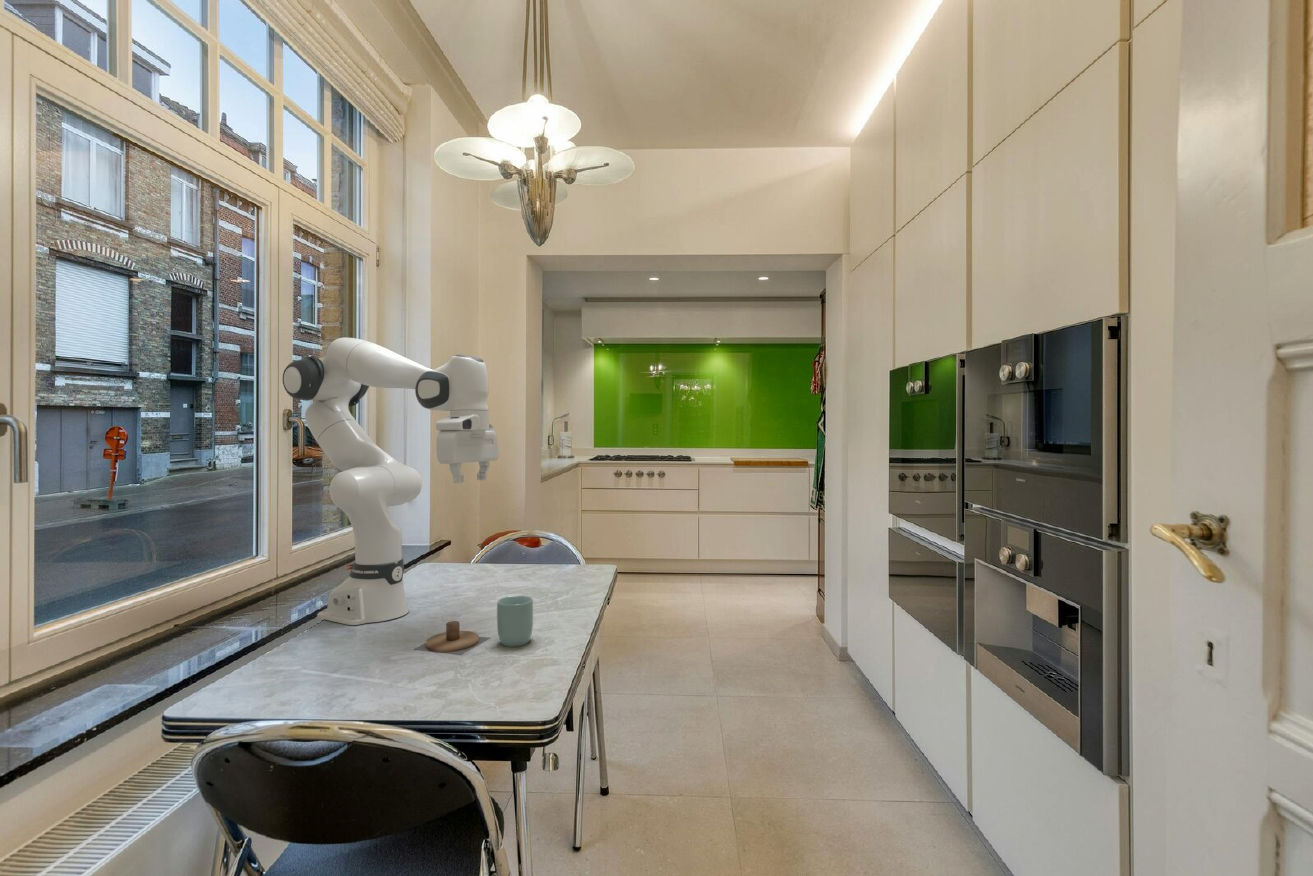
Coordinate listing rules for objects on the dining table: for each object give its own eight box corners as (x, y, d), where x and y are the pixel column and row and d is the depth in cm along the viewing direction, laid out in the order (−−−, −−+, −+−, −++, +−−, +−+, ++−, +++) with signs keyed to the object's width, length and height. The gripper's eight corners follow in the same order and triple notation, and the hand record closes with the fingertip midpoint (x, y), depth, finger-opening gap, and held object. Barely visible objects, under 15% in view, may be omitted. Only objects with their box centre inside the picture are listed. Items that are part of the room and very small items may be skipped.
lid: (415, 649, 127) (415, 628, 127) (447, 633, 138) (447, 614, 138) (459, 654, 124) (459, 633, 124) (488, 637, 135) (488, 617, 135)
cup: (537, 639, 135) (537, 595, 135) (526, 651, 127) (526, 605, 127) (504, 638, 136) (504, 595, 136) (491, 650, 128) (491, 604, 128)
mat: (413, 652, 127) (413, 649, 127) (445, 635, 138) (445, 632, 138) (461, 657, 124) (461, 654, 124) (490, 640, 134) (490, 637, 134)
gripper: (482, 424, 151) (483, 478, 151) (430, 422, 131) (431, 484, 131) (504, 423, 149) (505, 478, 149) (455, 421, 129) (456, 485, 129)
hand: (470, 481), depth 140 cm, fingers open, 8 cm apart
